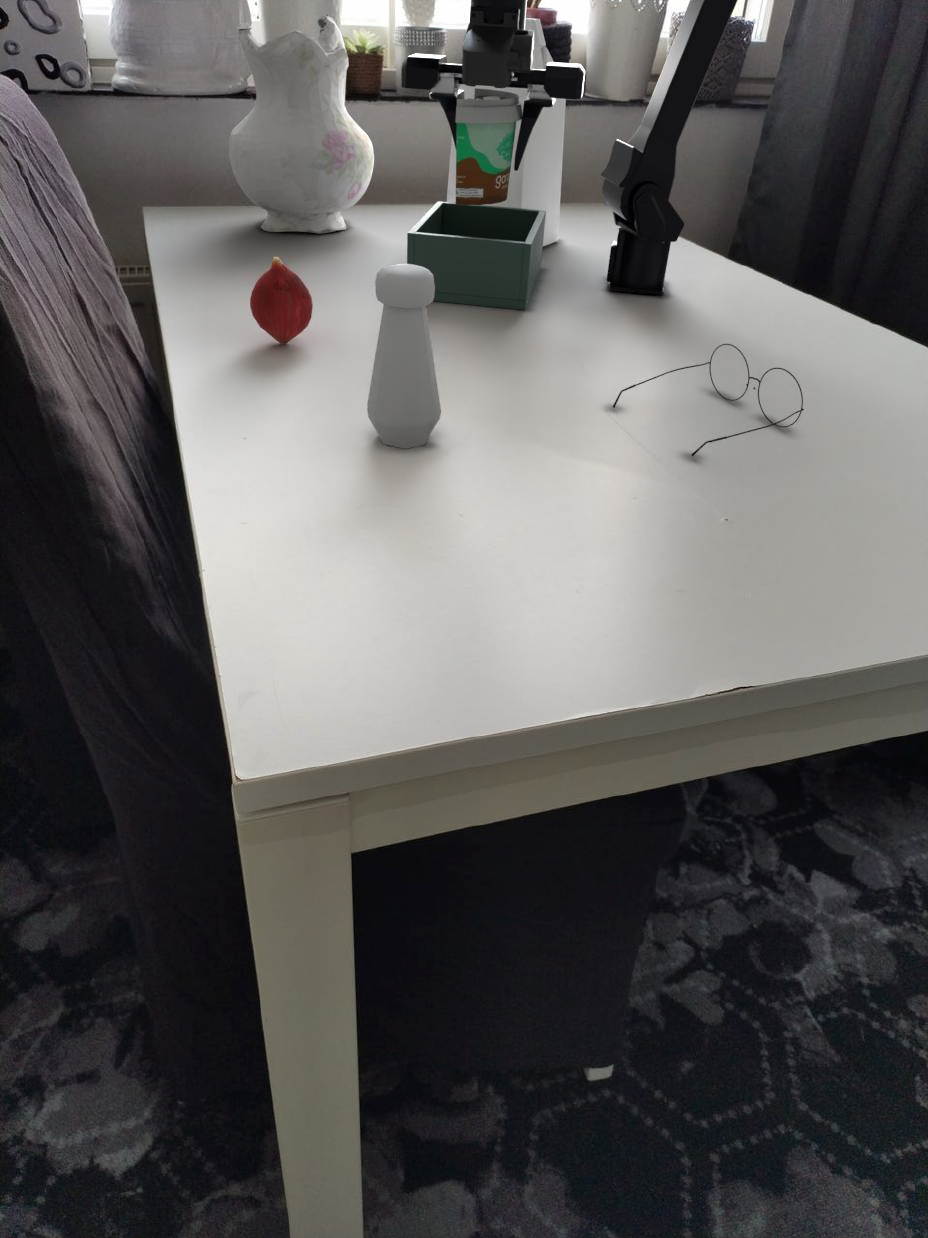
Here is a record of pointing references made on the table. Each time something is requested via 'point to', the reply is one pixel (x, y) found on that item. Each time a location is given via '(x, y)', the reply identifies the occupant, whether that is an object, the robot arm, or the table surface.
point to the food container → (485, 145)
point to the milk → (531, 151)
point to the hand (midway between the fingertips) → (489, 167)
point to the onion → (281, 303)
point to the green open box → (479, 253)
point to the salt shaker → (404, 359)
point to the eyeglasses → (729, 399)
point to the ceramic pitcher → (300, 132)
